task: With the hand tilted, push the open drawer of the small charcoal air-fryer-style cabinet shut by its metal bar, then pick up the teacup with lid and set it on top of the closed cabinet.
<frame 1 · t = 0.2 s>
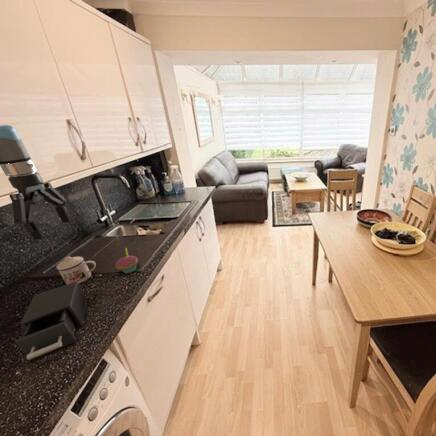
hand: (54, 229, 89), 26 cm above the countertop, tool pointing down, fingers open, 13 cm apart
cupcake: (130, 271, 107), on the countertop
cabinet: (65, 320, 83), on the countertop
drawer: (51, 330, 73), point 5 cm above the countertop, slide at 6.0 cm
teacup with lid: (83, 278, 104), on the countertop
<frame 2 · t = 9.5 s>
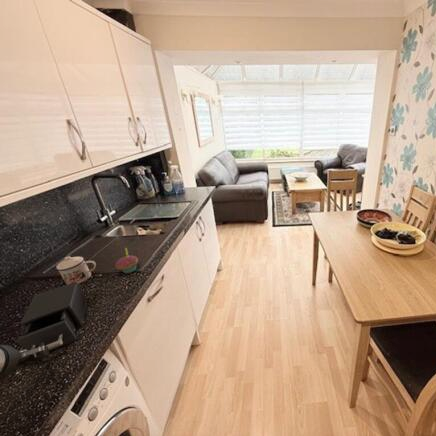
hand: (45, 356, 67), 4 cm above the countertop, tool tilted 45°, fingers closed
drawer: (52, 329, 74), point 5 cm above the countertop, slide at 5.3 cm
everything else where it was.
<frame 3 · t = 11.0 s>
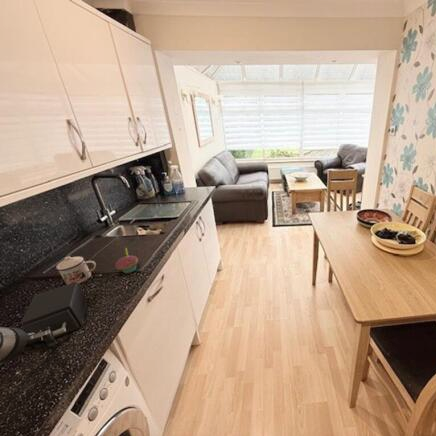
hand: (51, 342, 71), 3 cm above the countertop, tool tilted 45°, fingers closed
drawer: (55, 317, 78), point 5 cm above the countertop, slide at 0.0 cm, touching cabinet, gripper
everything else where it was.
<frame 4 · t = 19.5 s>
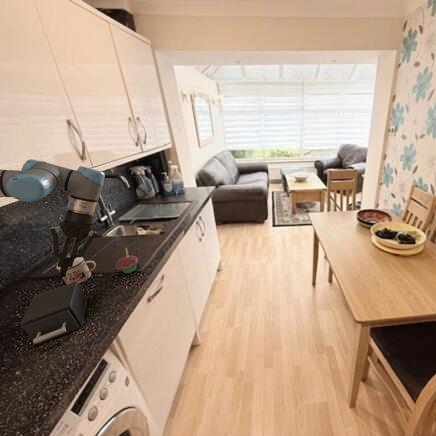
hand: (61, 275, 83), 14 cm above the countertop, tool tilted 30°, fingers closed
drawer: (55, 317, 78), point 5 cm above the countertop, slide at 0.0 cm, touching cabinet
everything else where it was.
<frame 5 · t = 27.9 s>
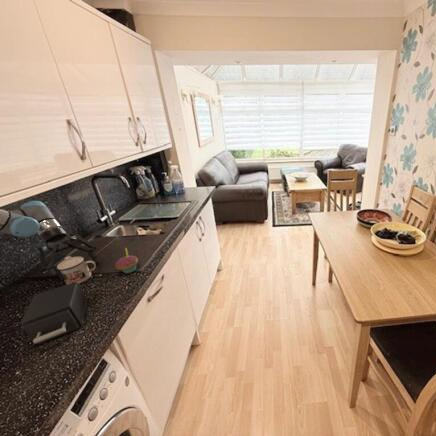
hand: (81, 271, 101), 5 cm above the countertop, tool tilted 45°, fingers closed on teacup with lid, 11 cm apart
teacup with lid: (84, 278, 105), on the countertop, touching gripper
everything else where it was.
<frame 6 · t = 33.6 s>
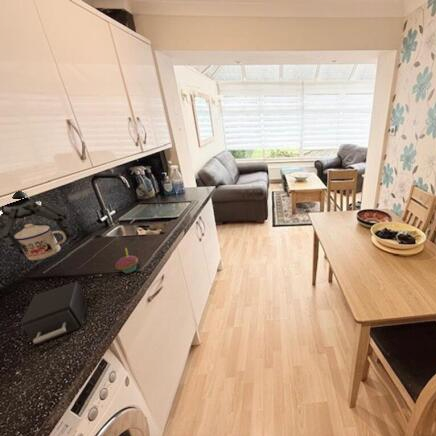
hand: (46, 243, 82), 25 cm above the countertop, tool tilted 45°, fingers closed on teacup with lid, 11 cm apart
teacup with lid: (50, 252, 86), point 20 cm above the countertop, touching gripper
everything else where it was.
when the fingers open (14 cm above the countertop, at t = 39.1 s): teacup with lid stays where it is, resting on cabinet.
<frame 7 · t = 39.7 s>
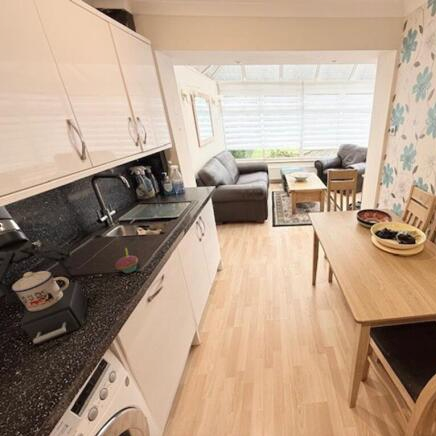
hand: (44, 289, 75), 15 cm above the countertop, tool tilted 45°, fingers open, 13 cm apart
teacup with lid: (52, 300, 79), point 9 cm above the countertop, touching cabinet
everything else where it was.
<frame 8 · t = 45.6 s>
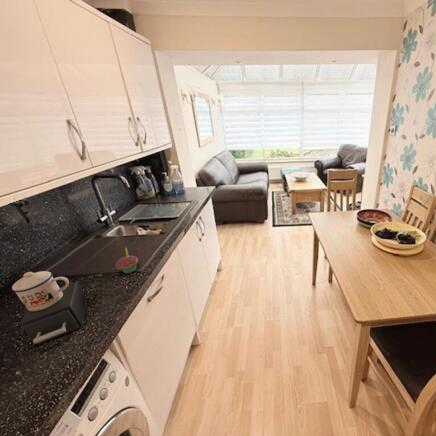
hand: (0, 229, 79), 32 cm above the countertop, tool tilted 45°, fingers open, 13 cm apart
nothing on the countertop moved.
at the end: drawer slide at 0.0 cm; teacup with lid inside the target area on the cabinet (0.2 cm from its centre), point 9.4 cm above the cabinet's base; teacup with lid tilted 0° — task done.
